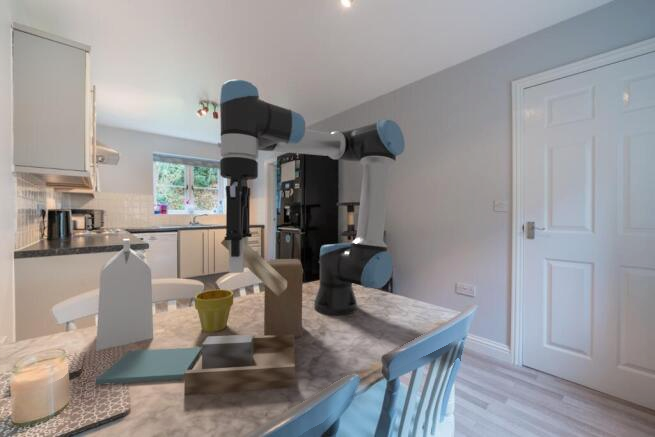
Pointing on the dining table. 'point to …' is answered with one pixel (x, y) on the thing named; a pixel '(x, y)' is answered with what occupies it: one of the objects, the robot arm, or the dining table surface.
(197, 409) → the dining table surface
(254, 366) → the open wooden box
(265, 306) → the block
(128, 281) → the milk
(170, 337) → the dining table surface
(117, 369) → the slate mat
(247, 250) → the birch bar
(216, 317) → the plant pot
